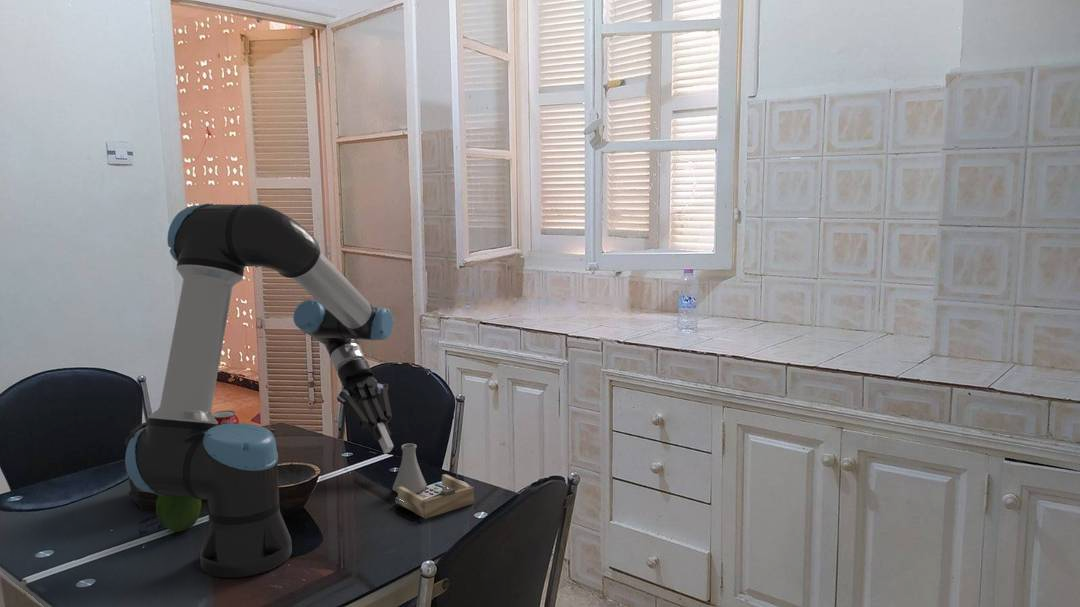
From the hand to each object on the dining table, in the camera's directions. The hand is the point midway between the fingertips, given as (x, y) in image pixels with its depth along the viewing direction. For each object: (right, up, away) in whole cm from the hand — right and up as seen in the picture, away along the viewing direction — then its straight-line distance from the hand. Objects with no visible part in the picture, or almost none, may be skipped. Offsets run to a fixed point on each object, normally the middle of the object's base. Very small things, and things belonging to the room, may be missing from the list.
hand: (388, 449), depth 173 cm
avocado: (-35, -10, -27) cm, 45 cm away
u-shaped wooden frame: (+12, -8, -14) cm, 20 cm away
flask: (+6, -8, -6) cm, 12 cm away
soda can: (-42, -5, +12) cm, 45 cm away
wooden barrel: (-43, -8, -10) cm, 45 cm away
